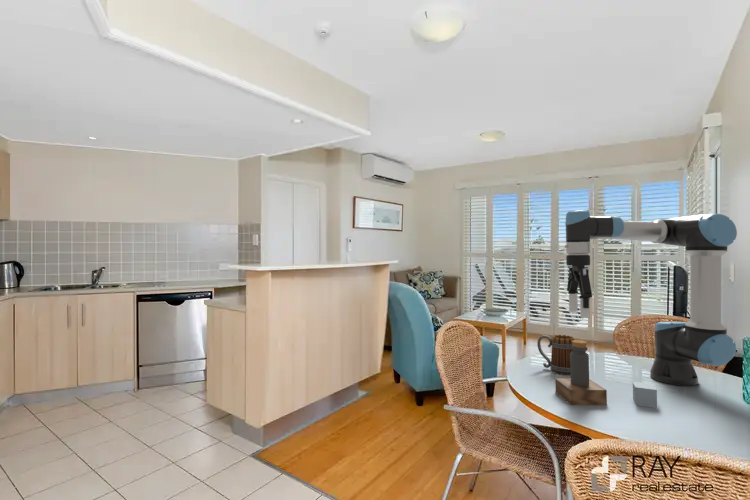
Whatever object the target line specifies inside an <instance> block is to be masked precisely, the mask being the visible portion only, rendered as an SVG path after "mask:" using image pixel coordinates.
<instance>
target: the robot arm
mask: <svg viewBox="0 0 750 500" xmlns="http://www.w3.org/2000/svg"><path fill="white" fill-rule="evenodd" d="M564 225H565V240H566V241H565V245H564V248H565V249H566V252H565V253H566V254H567V255H566V256H565V257H566V259H565V261H566V266H570V267H569V268H568V278H567V279H568V280H567V287H566V290H567V291H566V292H568V311H569V312H576V313H577V312H578V307H579V304H580V307H579V308H580V309H579V310H580V318H581V319H590V317H591V310H590V309H591V306H590V305H591V303H590V301H591V298H592V297H593V292H592V287H591V282H590V275H589V272H590V271H589V268H585V267H587V266H588V267H589V266H590V265H591V256H590V255H591V240H616V241H617V240H618V241H619V240H620V241H622V240H623V241H645V242H646V241H648V242H652V243H653V244H659V245H660V244H662V245H663V244H664V245H669V246H670V245H672V246H678V247H685V252H686V253H687V254H688V255H689V256H690V295H689V296H690V297H689V298H690V305H689V306H690V307H689V309H690V310H689V311H690V312H689V313H690V315H689V317H690V318H689V320H688V321H659V322H656V324H655V325H654V331H653V332H654V333H653V334H654V351H655V352H654V354H655V357H654V360H653V363H652V366H651V367H650V370H649V373H650V374H649V375H650V378H652V379H653V380H655V381H658V382H660V383H665V384H668V385H675V386H684V387H685V386H686V387H688V386H690V387H691V386H696V385H698V384H699V377H698V374H697V372H696V369H695V367H694V365H693V361H695V362H699V363H701V364H704V365H709V366H713V367H720V366H724V365H727V364H728V363H729V362H730V361H732V359H733V358H734V356H735V354H736V352H737V351H736V350H737V344H736V341H735V340H734V339H733V338H732V337H731V336H730V335H728V333H727V332H728V330H727V327H726V326H725V325H724V324H723V323H722V256H723V255H724V254H726V253H727V252H728V247H729V246H730V245H732V244H733V243H734V242H735V240H736V239H737V235H738V231H737V227H736V224H735V223H734V221H733V220H732V219H730V217H729V216H727V215H725V214H723V213H704V214H695V215H688V216H687V215H684V216H680V217H679V216H678V217H672V218H663V219H662V218H661V219H660V218H657V219H654V220H652V221H642V220H641V221H639V220H623V218H621V216H615V215H613V216H612V215H609V216H608V215H605V216H601V215H600V216H598V215H597V216H593V215H590V211H589V210H586V209H584V210H583V209H581V210H571V211H568V212H566V215H565V223H564ZM589 254H590V255H589ZM578 290H579V291H578ZM579 293H580V295H579V297H578V294H579ZM578 299H579V300H580V301H579V300H578ZM578 301H579V304H578Z"/></svg>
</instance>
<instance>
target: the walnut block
mask: <svg viewBox="0 0 750 500" xmlns="http://www.w3.org/2000/svg"><path fill="white" fill-rule="evenodd" d="M554 381H555V393H556V394H557V395H559V397H561V398H562V399H563V400H564V401H566V402H567V403H568V404H569V405H571V406H572V405H573V406H585V405H586V406H595V405H597V406H607V405H608V401H607V399H608V397H607V395H608V394H607V393H608V392H607V389H606V388H605V387H603V386H601V385H599V384H598V383H597V382H595V381H593V380H591V379H590V378H589V386H586V387H581V386H576V385H573V384H571V377H570V378H559V377H558V378H555V380H554Z"/></svg>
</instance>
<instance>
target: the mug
mask: <svg viewBox="0 0 750 500" xmlns="http://www.w3.org/2000/svg"><path fill="white" fill-rule="evenodd" d="M543 339H546V340H548V342H549V343H548V344H547V347H548V348H551V357H548V356H547V355H546V354H545V353H544V351H543V348H542V345H541V341H542V340H543ZM573 340H575V338H574V336H572V335H571V336H570V335H567V334H555V335H553V336H552V337H551V336H549V335H548V334H543V335H541V336H540V337H539V338H538V339H537V343H536V345H537V350H538V352H539V353H540V355H541V356H542V357H543V358H544V360H545V361H546V362H547V363H546V362H543V363H542V365H543V367H544V368H546V369H548V368H550V370H551V371H552V373H555V374H557V375H563V376H571V372H570V353H571V352H573V349H571V346H572V345H573V344H572V341H573Z"/></svg>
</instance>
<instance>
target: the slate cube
mask: <svg viewBox="0 0 750 500" xmlns="http://www.w3.org/2000/svg"><path fill="white" fill-rule="evenodd" d="M632 399H633V402H634V405H635V406H641V407H650V408H654V409H655V408H656V409H658V390H657V388H656V386H655V384H653V383H646V382H639V381H633V382H632Z"/></svg>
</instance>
